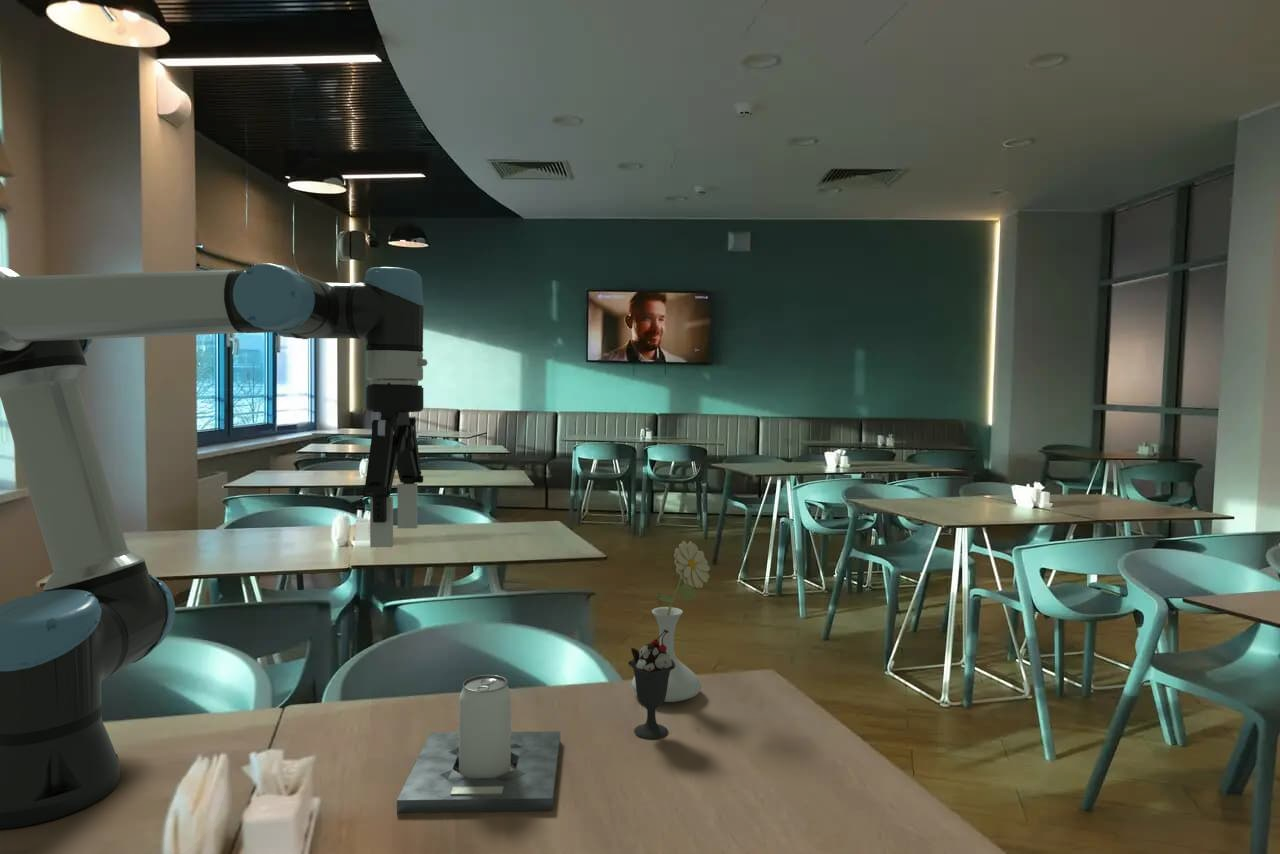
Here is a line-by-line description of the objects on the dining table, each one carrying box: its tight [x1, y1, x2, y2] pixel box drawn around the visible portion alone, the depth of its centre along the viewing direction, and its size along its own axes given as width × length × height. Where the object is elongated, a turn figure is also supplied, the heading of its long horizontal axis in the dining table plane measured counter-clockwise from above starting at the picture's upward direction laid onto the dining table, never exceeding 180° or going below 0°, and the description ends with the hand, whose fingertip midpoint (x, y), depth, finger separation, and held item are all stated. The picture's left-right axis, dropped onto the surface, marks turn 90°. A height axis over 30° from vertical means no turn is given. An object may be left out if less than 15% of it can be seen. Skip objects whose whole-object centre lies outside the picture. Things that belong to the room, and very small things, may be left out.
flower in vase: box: [630, 540, 711, 703], centre depth 127 cm, size 13×11×25 cm
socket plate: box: [396, 730, 561, 814], centre depth 101 cm, size 18×18×2 cm
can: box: [458, 674, 512, 778], centre depth 100 cm, size 6×6×12 cm
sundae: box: [627, 630, 675, 740], centre depth 114 cm, size 7×7×15 cm
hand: (395, 537), depth 109 cm, fingers open, 13 cm apart
